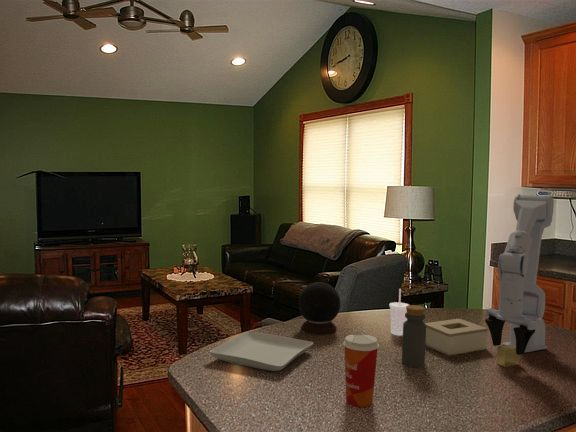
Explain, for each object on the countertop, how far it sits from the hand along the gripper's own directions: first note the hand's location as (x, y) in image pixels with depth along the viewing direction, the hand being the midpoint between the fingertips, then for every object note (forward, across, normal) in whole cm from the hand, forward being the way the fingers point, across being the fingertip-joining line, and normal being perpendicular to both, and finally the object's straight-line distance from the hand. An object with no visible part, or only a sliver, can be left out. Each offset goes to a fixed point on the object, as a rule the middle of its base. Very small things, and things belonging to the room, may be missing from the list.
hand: (508, 349), depth 140 cm
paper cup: (+4, +4, -49) cm, 49 cm away
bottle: (+4, -10, -23) cm, 25 cm away
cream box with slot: (+4, -17, -3) cm, 17 cm away
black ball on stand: (+4, -46, -31) cm, 56 cm away
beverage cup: (+4, -33, -10) cm, 35 cm away
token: (+4, 0, 0) cm, 4 cm away
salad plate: (+5, -30, -57) cm, 65 cm away
